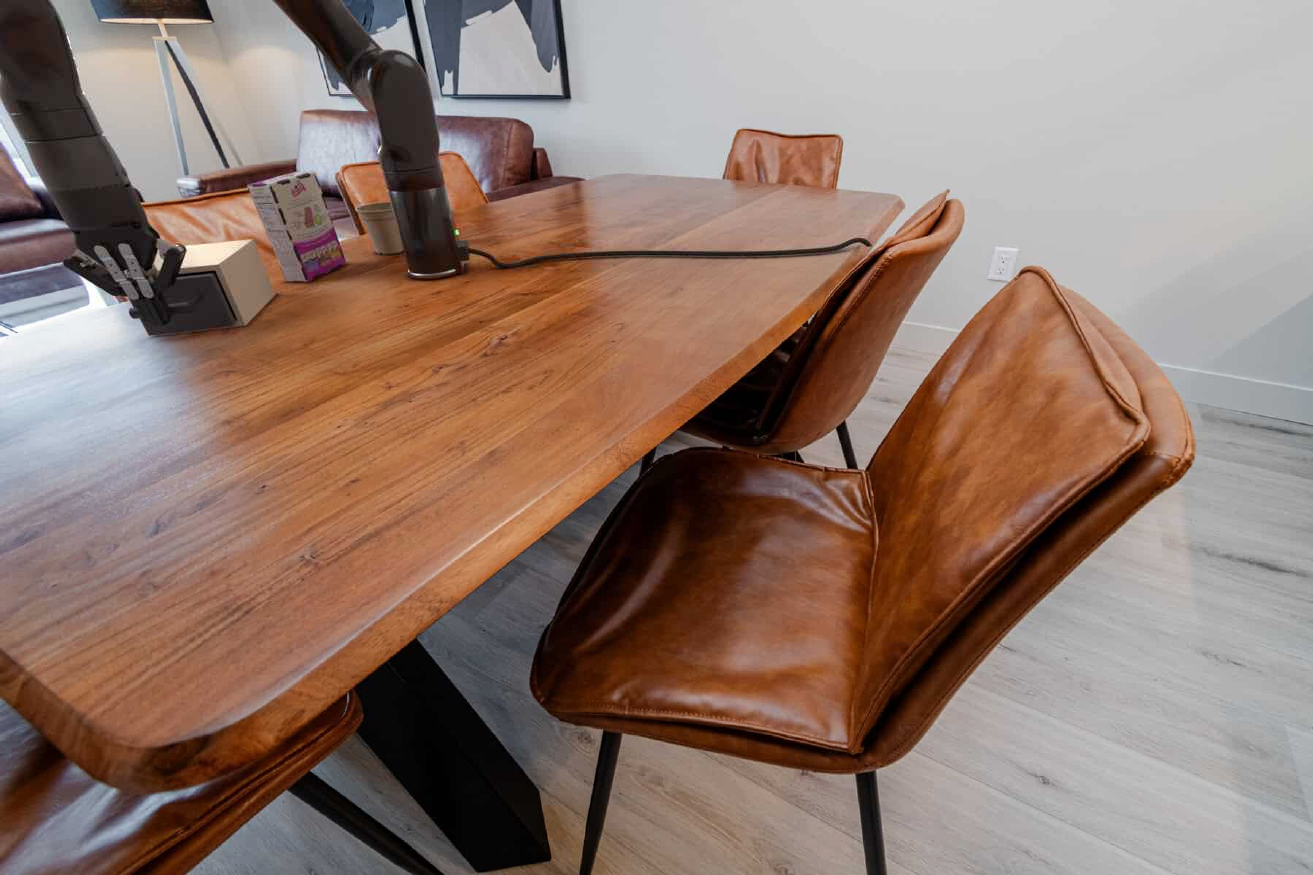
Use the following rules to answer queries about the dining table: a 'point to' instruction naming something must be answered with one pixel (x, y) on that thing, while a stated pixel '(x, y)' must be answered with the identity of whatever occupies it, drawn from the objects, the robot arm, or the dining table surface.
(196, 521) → the dining table surface
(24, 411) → the dining table surface
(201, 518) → the dining table surface
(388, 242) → the flower pot
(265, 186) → the candy bar box
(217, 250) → the cabinet
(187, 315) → the drawer
